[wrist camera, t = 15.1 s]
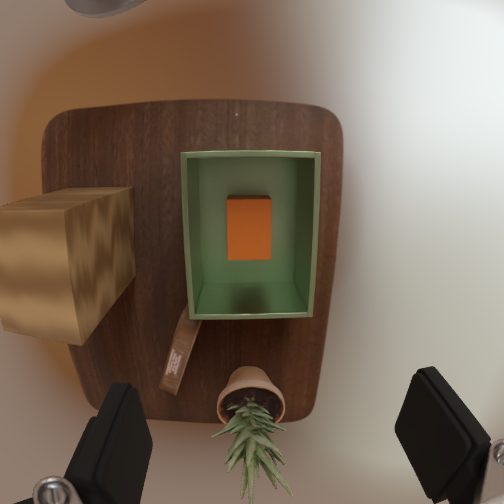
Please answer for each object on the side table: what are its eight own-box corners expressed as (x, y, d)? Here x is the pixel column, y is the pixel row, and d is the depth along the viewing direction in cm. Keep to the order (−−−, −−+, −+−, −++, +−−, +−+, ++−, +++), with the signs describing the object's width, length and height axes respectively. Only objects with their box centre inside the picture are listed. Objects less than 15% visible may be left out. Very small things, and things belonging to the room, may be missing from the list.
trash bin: (199, 285, 42) (189, 319, 33) (194, 153, 38) (180, 152, 28) (297, 283, 43) (312, 317, 34) (301, 153, 38) (320, 152, 29)
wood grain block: (68, 188, 38) (-18, 211, 20) (133, 186, 38) (64, 210, 21) (74, 270, 41) (3, 330, 24) (136, 275, 42) (82, 346, 24)
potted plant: (282, 356, 46) (312, 495, 23) (276, 400, 49) (296, 529, 25) (215, 354, 46) (204, 497, 22) (215, 399, 48) (208, 530, 25)
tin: (184, 372, 47) (176, 409, 39) (164, 366, 46) (154, 402, 38) (212, 290, 43) (207, 321, 35) (190, 283, 42) (180, 312, 34)
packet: (227, 195, 39) (226, 199, 35) (268, 195, 39) (272, 199, 35) (228, 250, 41) (227, 260, 37) (267, 250, 41) (271, 259, 37)
